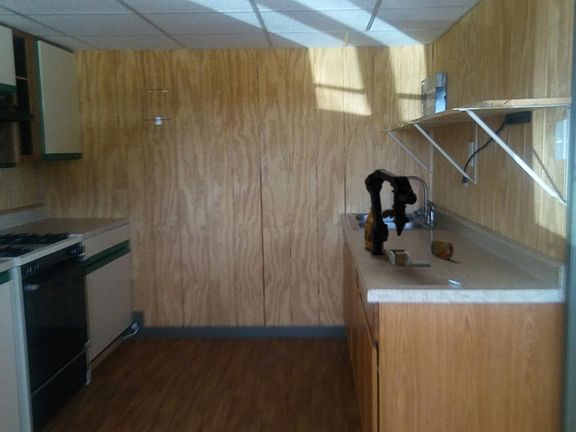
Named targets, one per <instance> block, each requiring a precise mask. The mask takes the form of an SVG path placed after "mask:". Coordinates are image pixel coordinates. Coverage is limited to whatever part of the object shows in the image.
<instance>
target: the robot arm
mask: <svg viewBox="0 0 576 432" xmlns="http://www.w3.org/2000/svg"><path fill="white" fill-rule="evenodd" d="M385 182H388V183H389V186H390V187H391V188H393V189H392V190H391V193H393V200H392V201H393V202H392V203H393V204H392V205H391V207H390V208H387V209H384V210H383V209H382V200H381V191H382V188H383V184H384V183H385ZM364 185H365V189H366V191H367V192H368V193H369V195H370V196H369V197H370V205H371V206H372V214H373V225H372V227H371V233H370V234H369V236H368V241H369V242H372V250H370V254H371V255H386V253H385V252H384V250H383V242H384V243H385V242H386V243H387V242H388V241H389V235H390V233H389V232H390V230H389V224H388V223H385V221H384V219H387V218H389V219H390V220H391V219H392V220H391V222H392V223H393V224H394V225H395V231H396V235H397V237H400V236H402V233H403V230H404V229H405V227H406V225H407V224H410V218H409V217H408V216H407V212H406V211H407V210H406V208H407V205H409V206H412V205H415V204H416V203H417V200H418V196H417V194H416V193H415V192H414V190H413V186H412V184H411V183H410V179H409V178H408V176H407V175H400V174H399V175H398V174H395V173H392V172H390V171H388V170H386V169H385V168H377V169H375V170H374V171H373V172H372V173H370V174H368V175H367V176H366V177H365V180H364ZM371 206H370V207H371Z"/></svg>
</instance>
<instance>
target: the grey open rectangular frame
mask: <svg viewBox="0 0 576 432" xmlns="http://www.w3.org/2000/svg"><path fill="white" fill-rule="evenodd" d="M395 252H404V253H405V264H407V266H410V265H411V264H410V260H411V255H410V254H409V253H408V252H407V250H406V249H405V248H404V249H403V248H398V249H397V248H394V249H393V248H392V249H390V248H389V251H388V257H389V258H388V260H389V261H390V263H391V264H392V265H393V266H396V263H395Z"/></svg>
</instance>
